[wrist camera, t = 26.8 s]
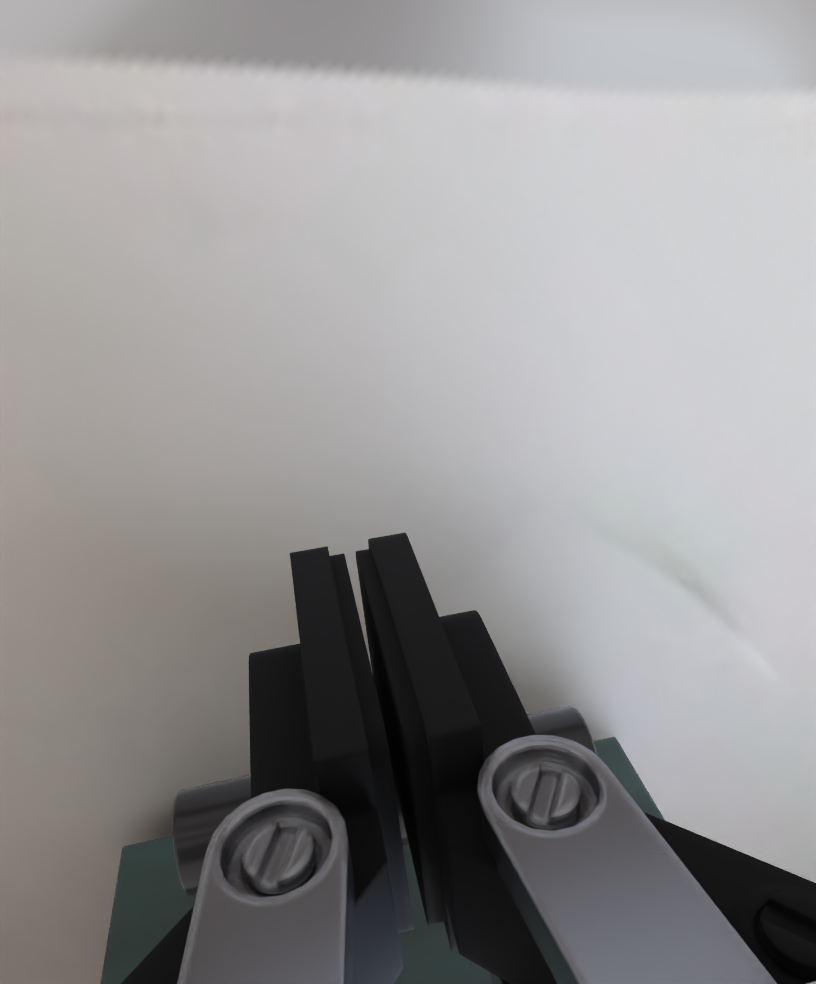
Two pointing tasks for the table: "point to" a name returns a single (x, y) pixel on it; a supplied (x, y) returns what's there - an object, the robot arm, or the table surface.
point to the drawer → (200, 810)
